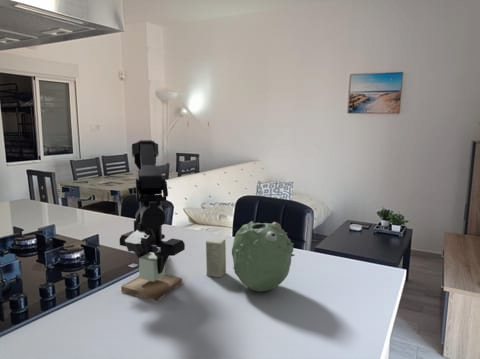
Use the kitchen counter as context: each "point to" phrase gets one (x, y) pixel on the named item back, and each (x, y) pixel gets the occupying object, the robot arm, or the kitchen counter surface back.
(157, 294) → the plinth
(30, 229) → the kitchen counter surface
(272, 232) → the green bumpy vase
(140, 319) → the kitchen counter surface
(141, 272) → the block
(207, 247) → the box
